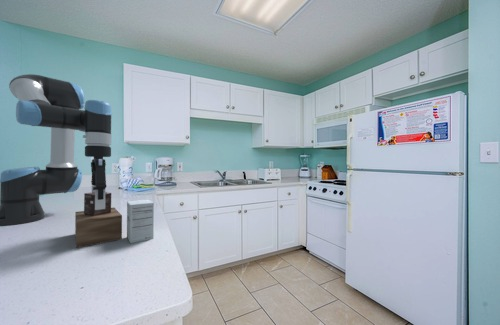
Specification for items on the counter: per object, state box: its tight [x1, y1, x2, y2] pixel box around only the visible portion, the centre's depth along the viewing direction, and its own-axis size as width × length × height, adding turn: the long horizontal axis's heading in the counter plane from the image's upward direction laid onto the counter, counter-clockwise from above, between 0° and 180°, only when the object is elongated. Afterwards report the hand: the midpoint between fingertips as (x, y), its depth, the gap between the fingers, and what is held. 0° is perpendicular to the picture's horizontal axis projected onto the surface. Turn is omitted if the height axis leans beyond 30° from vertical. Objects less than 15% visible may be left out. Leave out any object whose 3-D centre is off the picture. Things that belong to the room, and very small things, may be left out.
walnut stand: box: [74, 207, 123, 249], centre depth 74 cm, size 16×12×8 cm
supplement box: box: [126, 199, 155, 244], centre depth 73 cm, size 7×7×13 cm
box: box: [83, 191, 112, 216], centre depth 74 cm, size 6×6×7 cm
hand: (98, 206), depth 74 cm, fingers open, 13 cm apart
